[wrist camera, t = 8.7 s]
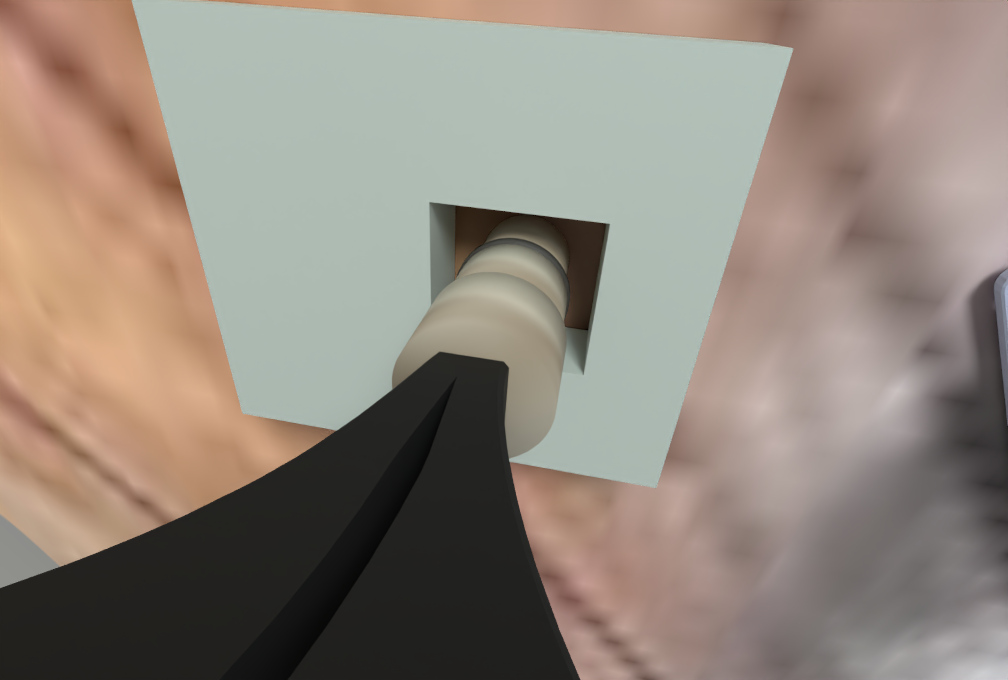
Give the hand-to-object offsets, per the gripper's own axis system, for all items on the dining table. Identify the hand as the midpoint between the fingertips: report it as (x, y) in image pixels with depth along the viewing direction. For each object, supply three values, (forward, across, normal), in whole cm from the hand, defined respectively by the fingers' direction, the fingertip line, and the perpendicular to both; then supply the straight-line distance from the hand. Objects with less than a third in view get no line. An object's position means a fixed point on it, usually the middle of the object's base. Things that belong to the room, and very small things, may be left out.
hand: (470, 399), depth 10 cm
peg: (+7, 0, 0) cm, 7 cm away
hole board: (+7, +2, 0) cm, 7 cm away
